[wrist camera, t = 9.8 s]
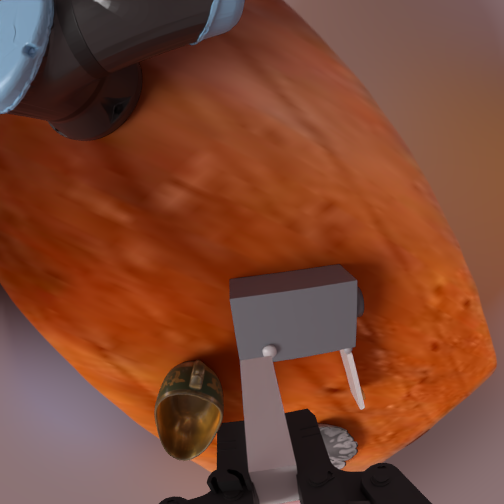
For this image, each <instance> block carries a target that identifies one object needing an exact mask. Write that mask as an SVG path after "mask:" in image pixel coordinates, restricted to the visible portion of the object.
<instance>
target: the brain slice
mask: <svg viewBox="0 0 504 504" xmlns="http://www.w3.org/2000/svg"><path fill="white" fill-rule="evenodd" d="M318 427H319V429H320V432H321V435H322V438H323V441H324V444H325V446H326V449H327V452H328V455H329V458H330V461H331V463H332V464H333V465H334V466H335V467H336V468H338V469H342V468H343V467H344V466H345V465H346V462H345V461H346V460H349V459H351V458H352V457H353V456H354V455H356V454H357V452H358V450H357V449H356V448H357V446H358V444H357V442H355V441H353V440H354V439H353V437H352V436H351V435H350V434H349V433H348V431H347V430H346V429H343V428H341V427H337V426H333V425H329V424H318Z"/></svg>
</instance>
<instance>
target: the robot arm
mask: <svg viewBox="0 0 504 504" xmlns="http://www.w3.org/2000/svg"><path fill="white" fill-rule="evenodd" d="M244 2H245V0H1V1H0V114H3V113H4V114H5V113H8V114H14V115H20V116H26V117H31V118H36V119H41V120H46V121H48V122H49V124H50V125H51V127H52V128H53V129H54V130H55V131H56V132H57V133H59V134H60V135H62V136H64V137H66V138H69V139H74V140H80V141H90V140H95V139H99V138H102V137H104V136H106V135H108V134H110V133H111V132H113V131H114V130H116V129H117V128H118V127H119V126H121V125H122V124H123V123H124V122H125V121H126V119H127V118H128V117H129V116H130V114H131V113H132V111H133V110H134V108H135V106H136V104H137V102H138V99H139V96H140V93H141V88H142V72H141V68H140V65H139V62H140V61H143V60H145V59H148V58H151V57H153V56H156V55H159V54H161V53H164V52H167V51H170V50H173V49H175V48H178V47H181V46H185V45H188V44H190V45H195V44H198V43H199V42H201V41H202V40H204V39H207V38H210V37H213V36H217V35H220V34H223V33H226V32H228V31H229V30H231V29H232V28H233V27H234V26H235V25H236V24H237V23H238V21H239V19H240V17H241V15H242V12H243V8H244ZM240 369H241V383H242V397H243V410H244V421H236V422H228V423H222V425H221V427H220V428H219V430H218V432H217V470H215V471H213V472H212V473H211V475H210V476H209V477H208V480H207V484H208V486H209V488H210V490H211V491H210V492H208V493H207V494H205V495H203V496H200V497H197V498H194V499H190V500H186V499H184V498H182V497H169V498H166V499H164V500H163V501H161V502H160V503H159V504H279V503H285V502H291V501H297V500H300V503H301V504H432V503H431V502H430V501H429V500H428V499H427V498H426V497H425V496H424V495H423V494H422V493H421V492H420V491H419V490H418V489H417V488H416V487H415V486H414V485H413V484H412V483H411V482H410V481H409V480H408V479H407V478H406V477H405V476H404V475H403V474H402V473H401V471H399V469H398V468H396V467H395V466H393V465H392V464H388V463H377V464H375V465H372V466H370V467H369V468H368V469H366V470H365V471H363V472H347V471H343V470H340V469H338V468H336V467H335V466H334V465H333V464H332V463H331V461H330V458H329V455H328V452H327V449H326V446H325V444H324V441H323V438H322V435H321V432H320V429H319V427H318V423H317V420H316V417H315V415H314V414H313V413H311V412H310V411H309V410H308V409H303V410H298V411H294V412H288V413H284V409H283V405H282V401H281V396H280V392H279V388H278V383H277V379H276V374H275V370H274V366H273V361H272V357H271V356H266V357H260V358H254V359H248V360H241V361H240Z"/></svg>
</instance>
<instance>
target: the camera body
mask: <svg viewBox="0 0 504 504" xmlns="http://www.w3.org/2000/svg"><path fill="white" fill-rule="evenodd" d="M230 304H231V310H232V316H233V323H234V329H235V335H236V341H237V347H238V353H239V359H240V361H241V360H248V359H254V358H260V357H266V356H271V357H272V361H273V362H276V361H282V360H288V359H295V358H300V357H306V356H312V355H317V354H323V353H328V352H333V351H338V350H342V349H347V348H352V347H356V323H357V317H361V316H362V315H363V313H364V300H363V295H362V292H361V290H360V288H359V287H358V286H357V280H356V279H355V278H354V277H353V276H352V275H351V274H350V273H349V272H348V271H346V270H345V269H344V268H343V267H342V266H341V265H340V264H337V265H330V266H323V267H316V268H309V269H302V270H295V271H288V272H281V273H273V274H266V275H259V276H251V277H243V278H236V279H230Z"/></svg>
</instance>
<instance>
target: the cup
mask: <svg viewBox="0 0 504 504" xmlns="http://www.w3.org/2000/svg"><path fill="white" fill-rule="evenodd" d="M223 406H224V404H223V391H222V387H221V383H220V381H219V379H218V377H217V375H216V374H215V372H213V371H212V370H211V369H210V368H209V367H207V366H206V365H205V364H204V363H203V362H201V361H200V360H196V361H186V362H183V363H181V364H179V365H177V366H175V367H174V368H173V369H172V370H171V371H170V372H169V373H168V374H167V376H166V377H165V379H164V381H163V383H162V386H161V388H160V391H159V394H158V397H157V401H156V405H155V422H156V426H157V430H158V434H159V438H160V440H161V443H162V445H163V447H164V449H165V450H166V452H167V453H168V454H169V455H170V456H172V457H173V458H176V459H177V460H184V461H185V460H190V459H193V458H195V457H197V456H199V455H200V454H201V453H202V452H204V451H205V450H206V449H207V447H208V446H209V445H210V443H211V442H212V440H213V439H214V437H215V435H216V433H217V431H218V430H219V427H220V425H221V423H222V419H223V410H224V407H223Z"/></svg>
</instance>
